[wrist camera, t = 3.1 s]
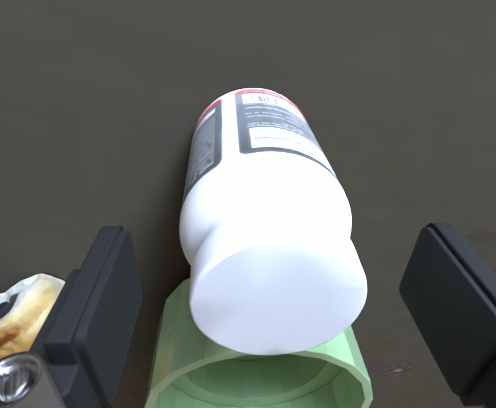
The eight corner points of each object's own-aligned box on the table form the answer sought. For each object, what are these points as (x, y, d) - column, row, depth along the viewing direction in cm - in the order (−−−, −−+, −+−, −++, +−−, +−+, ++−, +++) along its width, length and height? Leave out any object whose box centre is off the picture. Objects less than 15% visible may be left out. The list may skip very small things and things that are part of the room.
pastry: (145, 337, 26) (133, 389, 23) (77, 364, 27) (58, 416, 24) (46, 261, 21) (14, 314, 18) (-29, 300, 22) (-71, 354, 19)
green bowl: (150, 255, 21) (125, 354, 16) (357, 250, 22) (400, 343, 16) (172, 368, 28) (160, 461, 23) (325, 362, 29) (348, 450, 24)
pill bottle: (227, 205, 19) (230, 385, 11) (169, 120, 16) (114, 281, 8) (324, 162, 18) (407, 329, 10) (281, 60, 15) (350, 179, 7)
